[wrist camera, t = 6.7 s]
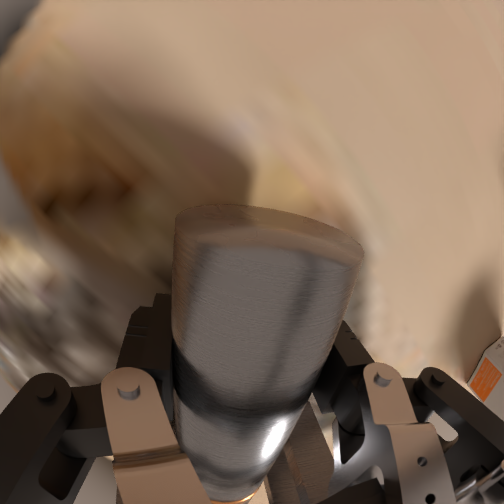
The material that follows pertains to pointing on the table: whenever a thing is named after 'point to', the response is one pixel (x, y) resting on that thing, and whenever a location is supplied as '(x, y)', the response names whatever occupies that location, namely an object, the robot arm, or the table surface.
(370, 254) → the table surface
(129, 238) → the table surface
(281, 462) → the dark grey rectangular frame
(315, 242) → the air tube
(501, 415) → the skincare box
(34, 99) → the table surface
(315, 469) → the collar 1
